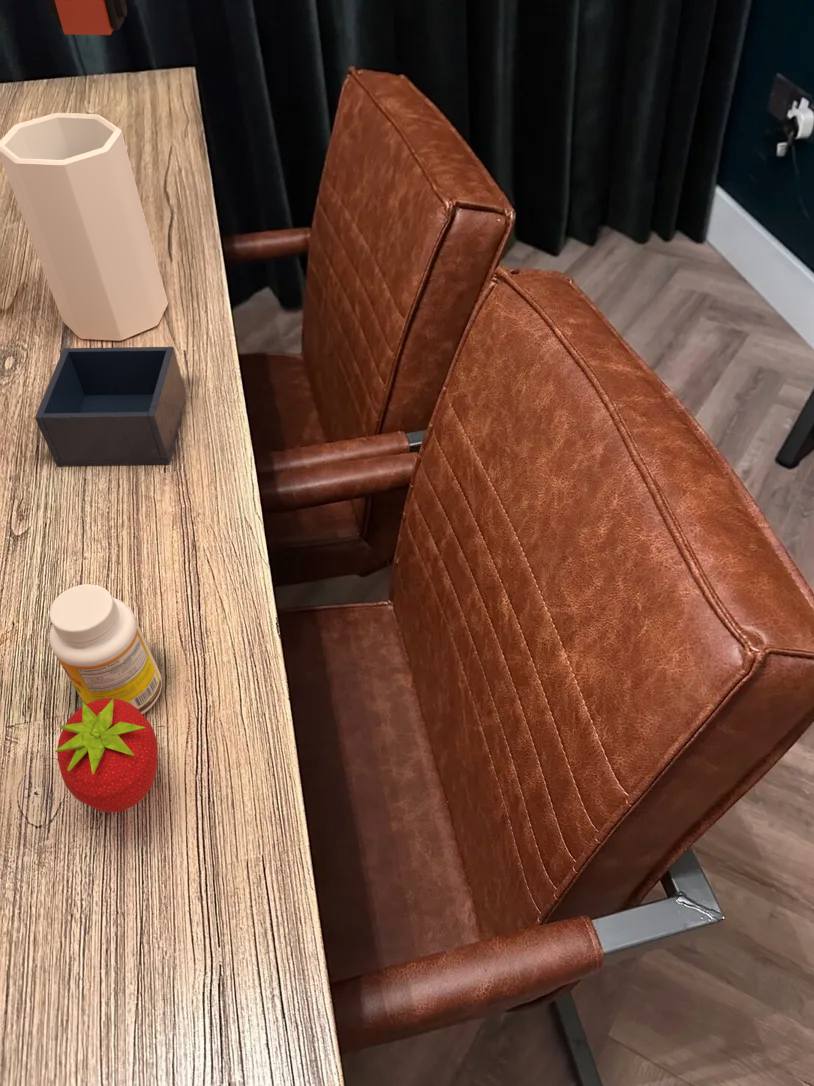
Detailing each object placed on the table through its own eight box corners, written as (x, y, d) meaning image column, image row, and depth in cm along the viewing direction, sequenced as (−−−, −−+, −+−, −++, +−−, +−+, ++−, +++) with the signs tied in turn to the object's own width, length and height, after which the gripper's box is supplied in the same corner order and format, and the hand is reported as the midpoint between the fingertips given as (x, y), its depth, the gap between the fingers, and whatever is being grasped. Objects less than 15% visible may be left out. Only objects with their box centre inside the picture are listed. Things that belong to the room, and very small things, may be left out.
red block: (64, 34, 85) (48, -20, 82) (75, 19, 88) (60, -35, 85) (110, 35, 86) (97, -20, 82) (119, 19, 88) (107, -34, 85)
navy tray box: (56, 466, 79) (34, 417, 75) (82, 396, 86) (63, 347, 81) (169, 464, 79) (154, 415, 75) (186, 394, 86) (173, 346, 82)
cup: (162, 278, 99) (115, 104, 85) (175, 332, 93) (126, 153, 78) (60, 295, 97) (-6, 119, 83) (66, 351, 90) (-5, 170, 76)
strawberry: (165, 733, 62) (126, 650, 54) (186, 825, 57) (147, 749, 50) (79, 761, 60) (26, 679, 52) (95, 858, 56) (39, 785, 48)
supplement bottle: (88, 668, 65) (39, 579, 57) (164, 657, 66) (126, 568, 58) (83, 732, 62) (31, 647, 54) (163, 719, 62) (123, 633, 54)
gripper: (138, -231, 75) (183, 13, 90) (-61, -235, 75) (16, 11, 89) (121, -216, 71) (171, 39, 85) (-92, -221, 70) (-6, 37, 84)
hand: (91, 22), depth 87 cm, fingers closed on red block, 4 cm apart
